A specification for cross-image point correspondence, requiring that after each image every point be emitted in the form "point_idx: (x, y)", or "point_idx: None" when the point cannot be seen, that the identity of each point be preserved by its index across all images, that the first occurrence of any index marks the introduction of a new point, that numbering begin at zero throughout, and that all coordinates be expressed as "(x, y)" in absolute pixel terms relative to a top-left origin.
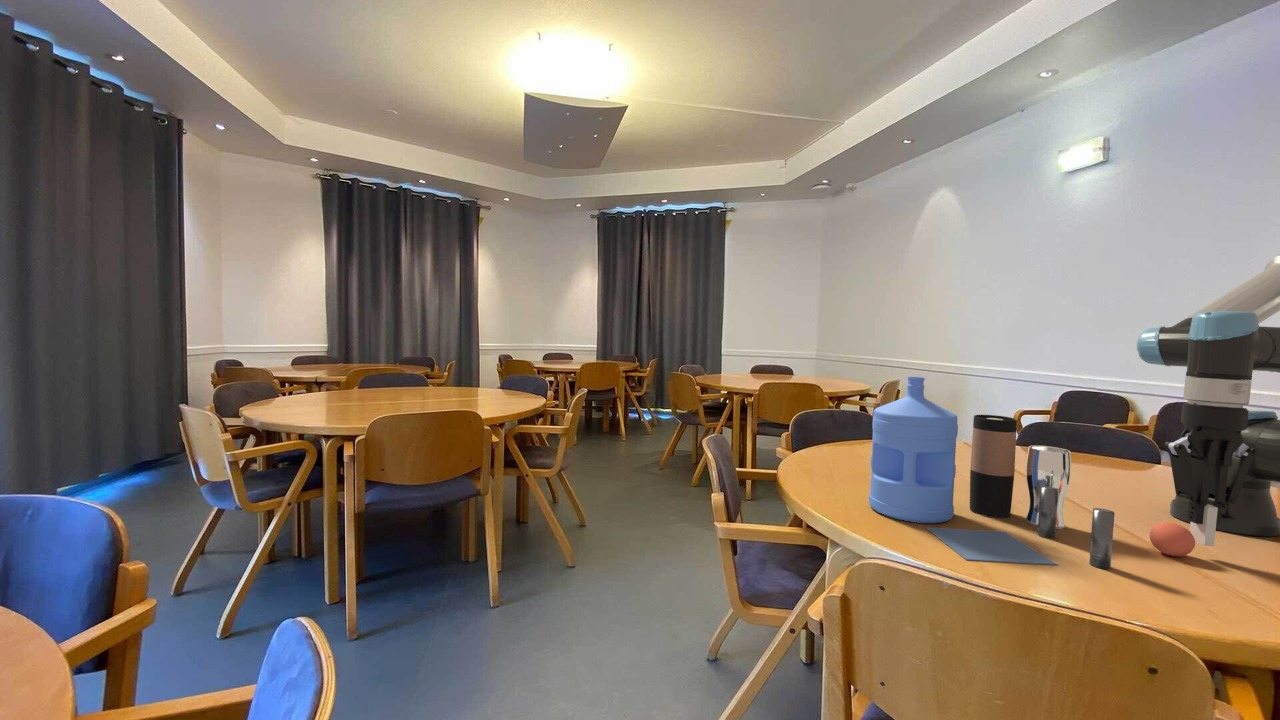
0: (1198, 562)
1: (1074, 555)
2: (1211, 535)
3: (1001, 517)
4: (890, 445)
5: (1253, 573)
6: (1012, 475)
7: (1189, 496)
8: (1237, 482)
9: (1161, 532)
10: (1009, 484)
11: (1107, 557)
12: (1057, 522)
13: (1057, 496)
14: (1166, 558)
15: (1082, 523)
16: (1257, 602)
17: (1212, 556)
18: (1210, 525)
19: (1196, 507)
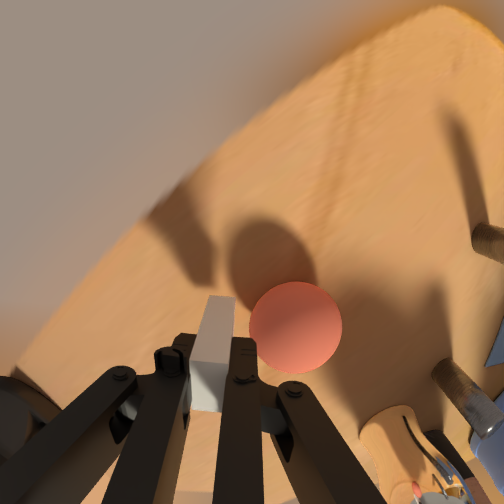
0: (262, 269)
1: (479, 283)
2: (215, 309)
3: (428, 432)
4: None
5: (186, 210)
6: None
7: (311, 395)
8: (75, 428)
9: (340, 328)
10: None
11: (498, 227)
12: (398, 415)
13: (484, 412)
14: (321, 287)
15: None
16: (350, 71)
17: (185, 306)
18: (219, 324)
19: (257, 373)
